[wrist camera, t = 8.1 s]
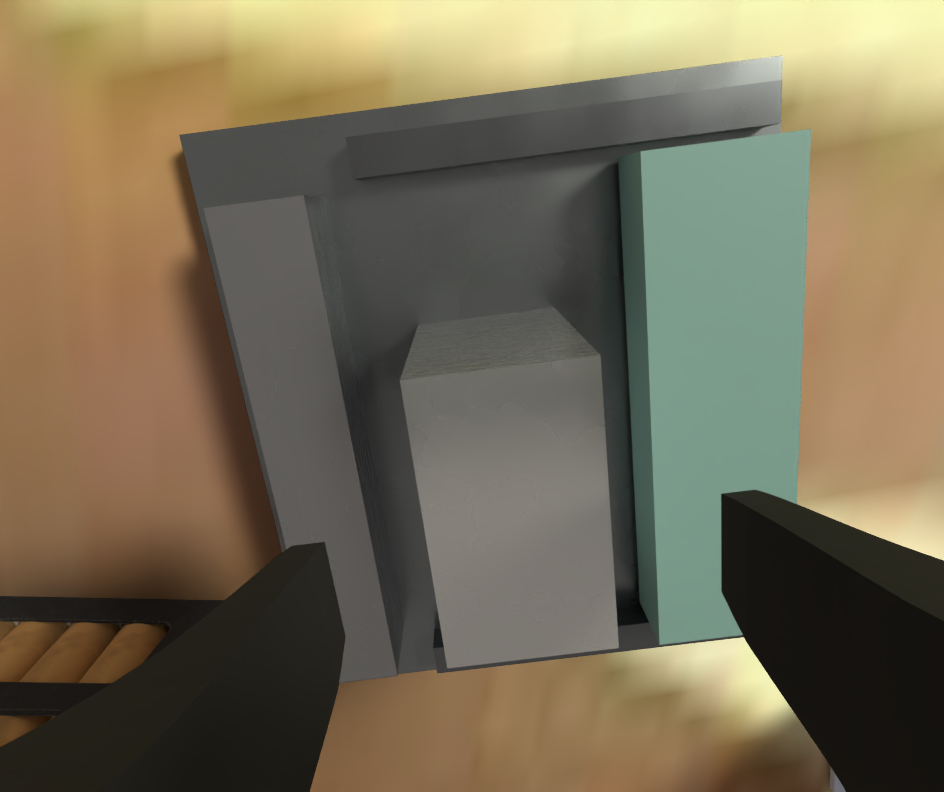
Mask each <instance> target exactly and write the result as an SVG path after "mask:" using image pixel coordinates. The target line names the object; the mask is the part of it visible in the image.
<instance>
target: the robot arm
mask: <svg viewBox="0 0 944 792" xmlns="http://www.w3.org/2000/svg"><path fill="white" fill-rule="evenodd" d="M721 592H722V594H723V596H724V598H725V600H726V602H727V604H728V606H729V608H730V610H731V612H732V615H733V617H734V619H735V621H736V623H737V625H738V626H739V628H740V630H741V632H742V634H743V636H744V638H745V640H746V642H747V643H748V645H749V646H750V648H751V649H752V651H753V652H754V654H755V655H756V657H757V658H758V660H759V661H760V663H761V664H762V666H763V667H764V669H765V670H766V672H767V673H768V675H769V676H770V678H771V679H772V681H773V682H774V684H775V685H776V687H777V688H778V689H779V691H780V692H781V694H782V695H783V697H784V698H785V700H786V701H787V703H788V704H789V706H790V707H791V708H792V710H793V711H794V713H795V714H796V716H797V717H798V719H799V720H800V722H801V723H802V725H803V726H804V727H805V729H806V730H807V732H808V733H809V735H810V736H811V738H812V739H813V741H814V742H815V744H816V745H817V747H818V748H819V749H820V751H821V752H822V754H823V755H824V757H825V758H826V760H827V762H828V763H829V765H830V766H831V773H830V790H831V791H832V792H944V561H943V560H940V559H937V558H934V557H932V556H929V555H926V554H923V553H920V552H917V551H915V550H912V549H909V548H906V547H903V546H901V545H898V544H895V543H892V542H890V541H887V540H884V539H882V538H879V537H876V536H874V535H871V534H869V533H866V532H864V531H861V530H859V529H856V528H854V527H851V526H849V525H846V524H844V523H841V522H839V521H836V520H834V519H831V518H829V517H827V516H824V515H822V514H819V513H817V512H814V511H812V510H810V509H807V508H805V507H802V506H800V505H797V504H795V503H792V502H790V501H787V500H785V499H782V498H780V497H777V496H774V495H771V494H768V493H766V492H762V491H759V490H747V491H739V492H731V493H723V494H721ZM345 637H346V636H345V631H344V627H343V622H342V618H341V613H340V609H339V604H338V600H337V595H336V590H335V586H334V581H333V577H332V572H331V568H330V563H329V559H328V554H327V550H326V545H325V542H319V543H310V544H302V545H294V546H291V547H289V548H288V549H286V550H285V551H284V552H282V553H281V554H280V555H278V556H277V557H276V558H275V559H273V560H272V561H271V562H270V563H269V564H267V565H266V566H265V567H264V568H263V569H261V570H260V571H259V572H258V573H257V574H256V575H254V576H253V577H252V578H251V579H250V580H249V581H247V582H246V583H245V584H244V585H243V586H241V587H240V588H239V589H238V590H237V591H235V592H234V593H233V594H232V595H231V596H229V597H228V598H227V599H226V600H225V601H224V602H222V603H221V604H220V605H219V606H218V607H216V608H215V609H214V610H213V611H211V612H210V613H209V614H207V615H206V616H205V617H204V618H202V619H201V620H200V621H198V622H197V623H196V624H195V625H193V626H192V627H191V628H189V629H188V630H187V631H185V632H184V633H183V634H182V635H180V636H179V637H178V638H176V639H175V640H174V641H173V642H171V643H170V644H169V645H167V646H166V647H165V648H163V649H162V650H160V651H159V652H158V653H156V654H155V655H153V656H152V657H151V658H149V659H148V660H146V661H145V662H143V663H142V664H140V665H139V666H138V667H136V668H134V669H133V670H131V671H130V672H128V673H127V674H125V675H124V676H122V677H121V678H119V679H118V680H116V681H115V682H113V683H112V684H110V685H108V686H107V687H105V688H104V689H102V690H100V691H99V692H97V693H96V694H94V695H92V696H91V697H89V698H87V699H85V700H84V701H82V702H80V703H78V704H77V705H75V706H73V707H71V708H70V709H68V710H66V711H64V712H63V713H61V714H59V715H57V716H56V717H54V718H52V719H50V720H49V721H47V722H45V723H43V724H42V725H40V726H38V727H36V728H35V729H33V730H31V731H29V732H28V733H26V734H24V735H22V736H20V737H18V738H16V739H14V740H12V741H11V742H9V743H7V744H5V745H3V746H1V747H0V792H310V788H311V785H312V781H313V778H314V774H315V771H316V767H317V763H318V760H319V756H320V753H321V749H322V746H323V742H324V739H325V735H326V732H327V728H328V724H329V721H330V717H331V713H332V710H333V706H334V702H335V699H336V695H337V691H338V686H339V680H340V674H341V667H342V660H343V652H344V644H345Z"/></svg>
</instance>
